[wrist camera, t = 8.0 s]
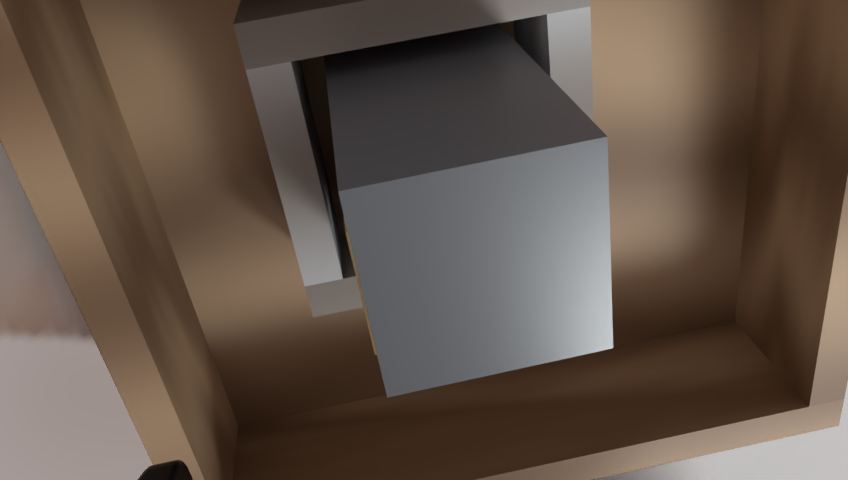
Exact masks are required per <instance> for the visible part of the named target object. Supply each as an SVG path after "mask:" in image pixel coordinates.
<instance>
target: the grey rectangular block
mask: <svg viewBox="0 0 848 480" xmlns="http://www.w3.org/2000/svg"><path fill="white" fill-rule="evenodd" d="M324 62H325V71H326V81H327V90H328V100H329V109H330V119H331V128H332V138H333V147H334V157H335V166H336V175H337V185H338V193H339V197H340V201H341V205H342V210H343V216H344V225H345V233H346V237H347V242H348V246H349V250H350V254H351V258H352V262H353V267H354V271H355V275H356V279H357V283H358V287H359V291H360V296H361V300H362V304H363V308H364V312H365V316H366V321H367V325H368V329H369V333H370V337H371V341H372V346H373V350H374V354H375V355H377V356H378V361H379V365H380V369H381V373H382V377H383V382H384V386H385V390H386V394H387V398H388V397H393V396H397V395H402V394H406V393H411V392H415V391H420V390H425V389H429V388H434V387H438V386H443V385H447V384H452V383H457V382H461V381H466V380H470V379H475V378H480V377H484V376H489V375H493V374H498V373H502V372H507V371H512V370H516V369H521V368H525V367H530V366H534V365H539V364H544V363H548V362H553V361H557V360H562V359H567V358H571V357H576V356H580V355H585V354H589V353H594V352H599V351H603V350H608V349H612V348H613V319H612V282H611V246H610V209H609V172H608V137H607V136H606V134H605V133H604V132H603V131H602V130H601V129H600V128H599V127H598V126H597V125H596V124H595V123H594V122H593V121H592V120H591V119H590V118H589V117H588V116H587V115H586V114H585V113H584V112H583V111H582V110H581V109H580V108H579V106H578V105H577V104H576V103H575V102H574V101H573V100H572V99H571V98H570V97H569V96H568V95H567V94H566V93H565V92H564V91H563V90H562V89H561V88H560V87H559V86H558V85H557V84H556V83H555V82H554V81H553V80H552V79H551V77H550V76H549V75H548V74H547V73H546V72H545V71H544V70H543V69H542V68H541V67H540V66H539V65H538V64H537V63H536V62H535V61H534V60H533V59H532V58H531V57H530V56H529V55H528V54H527V53H526V52H525V51H524V49H523V48H522V47H521V46H520V45H519V44H518V43H517V42H516V41H515V40H514V39H513V38H512V37H511V36H510V35H509V34H508V33H507V32H506V31H505V30H504V29H503V28H502V27H501V26H500V25H499V24H498V23H497V24H492V25H487V26H481V27H476V28H470V29H465V30H459V31H454V32H449V33H443V34H438V35H432V36H427V37H422V38H416V39H411V40H405V41H400V42H395V43H389V44H384V45H378V46H373V47H368V48H362V49H357V50H351V51H346V52H341V53H335V54H330V55H324Z"/></svg>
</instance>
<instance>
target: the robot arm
mask: <svg viewBox="0 0 848 480" xmlns="http://www.w3.org/2000/svg"><path fill="white" fill-rule="evenodd" d="M138 480H193V478H192V476H191V474H190V471H189V469H188V467H187V465H186V464H185V463H184V462H183V461H181V460H174V461H170V462H165V463H160V464H156V465H152V466H150V467H148V468H147V469H146V470H145V471H144V472H143V473H142V475H141V476H140V477H139V479H138Z"/></svg>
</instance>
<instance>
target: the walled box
mask: <svg viewBox="0 0 848 480" xmlns="http://www.w3.org/2000/svg"><path fill="white" fill-rule="evenodd" d="M497 23H498V24H499V25H500V26H501V27H502V28H503V29H504V30H505V31H506V32H507V33H508V34H509V35H510V36H511V37H512V38H513V39H514V40H515V41H516V42H517V43H518V44H519V45H520V46H521V47H522V48H523V49H524V51H525V52H526V53H527V54H528V55H529V56H530V57H531V58H532V59H533V60H534V61H535V62H536V63H537V64H538V65H539V66H540V67H541V68H542V69H543V70H544V71H545V72H546V73H547V74H548V75H549V76H550V77H551V79H552V80H553V81H554V82H555V83H556V84H557V85H558V86H559V87H560V88H561V89H562V90H563V91H564V92H565V93H566V94H567V95H568V96H569V97H570V98H571V99H572V100H573V101H574V102H575V103H576V104H577V105H578V106H579V108H580V109H581V110H582V111H583V112H584V113H585V114H586V115H587V116H588V117H589V118H590V119H591V120H592V121H593V122H594V123H595V124H596V125H597V126H598V127H599V128H600V129H601V130H602V131H603V132H604V133H605V134H606V136H607V137H608V172H609V209H610V246H611V282H612V319H613V348H612V349H608V350H603V351H599V352H594V353H589V354H585V355H580V356H576V357H571V358H567V359H562V360H557V361H553V362H548V363H544V364H539V365H534V366H530V367H525V368H521V369H516V370H512V371H507V372H502V373H498V374H493V375H489V376H484V377H480V378H475V379H470V380H466V381H461V382H457V383H452V384H447V385H443V386H438V387H434V388H429V389H425V390H420V391H415V392H411V393H406V394H402V395H397V396H393V397H388V398H387V394H386V390H385V386H384V382H383V377H382V373H381V369H380V365H379V361H378V356H377V355H375V354H374V350H373V346H372V341H371V337H370V333H369V329H368V325H367V321H366V316H365V312H364V308H363V304H362V300H361V296H360V291H359V287H358V283H357V279H356V275H355V271H354V267H353V262H352V258H351V254H350V250H349V246H348V242H347V237H346V233H345V225H344V216H343V210H342V205H341V201H340V197H339V193H338V185H337V175H336V166H335V157H334V147H333V138H332V128H331V119H330V109H329V100H328V90H327V81H326V71H325V62H324V55H330V54H335V53H341V52H346V51H351V50H357V49H362V48H368V47H373V46H378V45H384V44H389V43H395V42H400V41H405V40H411V39H416V38H422V37H427V36H432V35H438V34H443V33H449V32H454V31H459V30H465V29H470V28H476V27H481V26H487V25H492V24H497ZM0 141H1V143H2V145H3V147H4V149H5V152H6V154H7V156H8V158H9V160H10V162H11V164H12V166H13V168H14V171H15V173H16V175H17V177H18V179H19V181H20V183H21V185H22V188H23V190H24V192H25V194H26V196H27V198H28V200H29V202H30V205H31V207H32V209H33V211H34V213H35V215H36V217H37V219H38V222H39V224H40V226H41V228H42V230H43V232H44V234H45V236H46V239H47V241H48V243H49V245H50V247H51V249H52V251H53V253H54V256H55V258H56V260H57V262H58V264H59V266H60V268H61V270H62V272H63V275H64V277H65V279H66V281H67V283H68V285H69V287H70V289H71V292H72V294H73V296H74V298H75V300H76V302H77V304H78V306H79V309H80V311H81V313H82V315H83V317H84V319H85V321H86V323H87V326H88V328H89V330H90V332H91V334H92V336H93V338H94V340H95V343H96V345H97V347H98V349H99V351H100V353H101V355H102V357H103V360H104V362H105V364H106V366H107V368H108V370H109V372H110V374H111V376H112V378H113V381H114V383H115V385H116V387H117V389H118V391H119V393H120V395H121V398H122V399H123V402H124V404H125V406H126V408H127V410H128V412H129V415H130V417H131V419H132V421H133V423H134V425H135V427H136V429H137V432H138V434H139V436H140V438H141V440H142V442H143V444H144V447H145V449H146V451H147V453H148V455H149V457H150V459H151V461H152V464H153V465H156V464H160V463H165V462H170V461H174V460H181V461H183V462H184V463H185V464H186V465H187V467H188V469H189V471H190V474H191V476H192V478H193V480H594V479H598V478H603V477H608V476H612V475H617V474H621V473H626V472H630V471H635V470H639V469H644V468H648V467H653V466H657V465H662V464H666V463H671V462H676V461H680V460H685V459H689V458H694V457H698V456H703V455H707V454H712V453H716V452H721V451H725V450H730V449H735V448H739V447H744V446H748V445H753V444H757V443H762V442H766V441H771V440H775V439H780V438H784V437H789V436H794V435H798V434H803V433H807V432H812V431H816V430H821V429H825V428H830V427H834V426H839V422H840V417H841V411H842V406H843V401H844V396H845V391H846V386H847V381H848V0H0Z"/></svg>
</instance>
